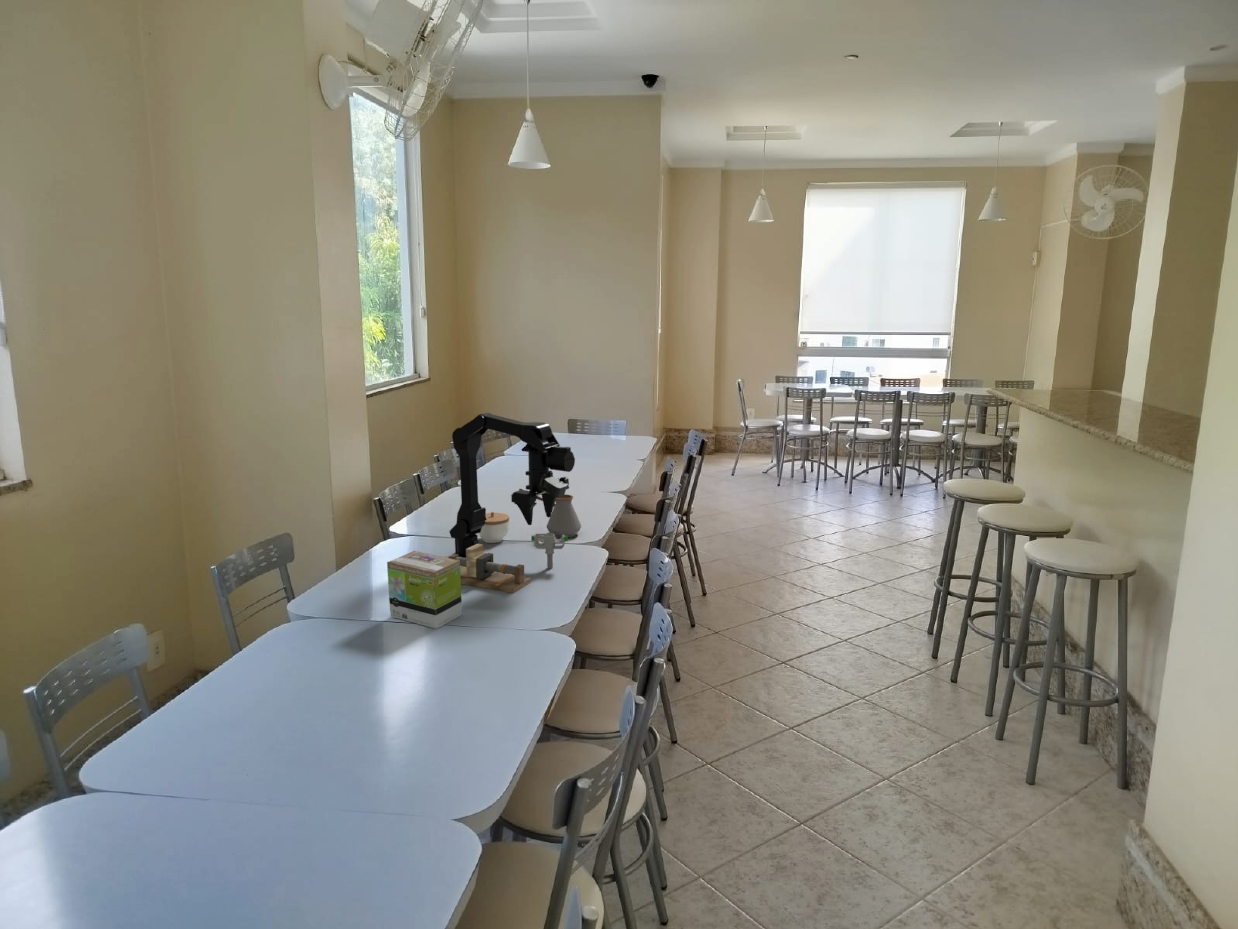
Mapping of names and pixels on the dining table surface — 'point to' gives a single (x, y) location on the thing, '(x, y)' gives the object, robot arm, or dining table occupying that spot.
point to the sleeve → (473, 559)
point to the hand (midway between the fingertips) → (539, 521)
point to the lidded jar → (495, 527)
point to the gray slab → (480, 565)
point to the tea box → (425, 589)
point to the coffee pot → (563, 517)
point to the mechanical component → (548, 545)
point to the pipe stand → (495, 576)
